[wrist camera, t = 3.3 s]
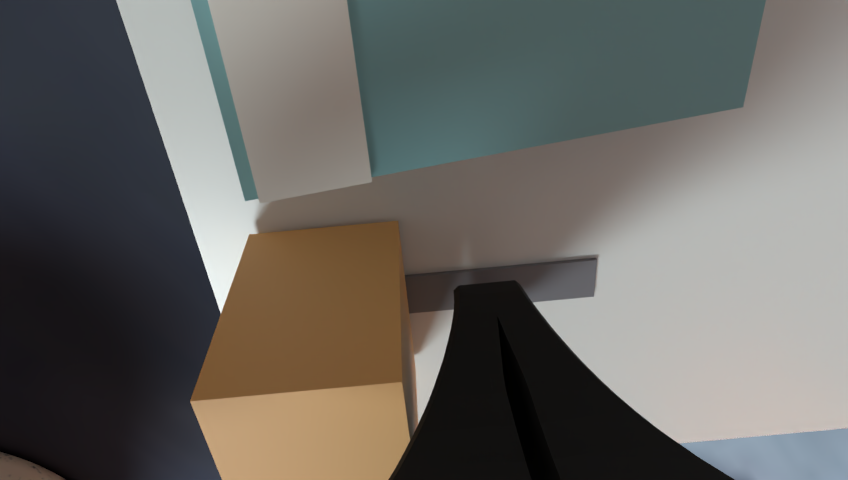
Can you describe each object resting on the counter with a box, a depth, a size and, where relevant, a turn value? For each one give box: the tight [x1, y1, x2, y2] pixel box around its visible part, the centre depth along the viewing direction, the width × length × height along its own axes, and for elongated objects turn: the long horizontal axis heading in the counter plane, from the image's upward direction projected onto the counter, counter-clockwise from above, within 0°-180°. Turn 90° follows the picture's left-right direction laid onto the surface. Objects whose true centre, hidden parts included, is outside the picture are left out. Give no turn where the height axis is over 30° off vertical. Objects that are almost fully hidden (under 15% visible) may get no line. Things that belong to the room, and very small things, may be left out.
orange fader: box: [190, 221, 418, 480], centre depth 12 cm, size 3×4×4 cm
